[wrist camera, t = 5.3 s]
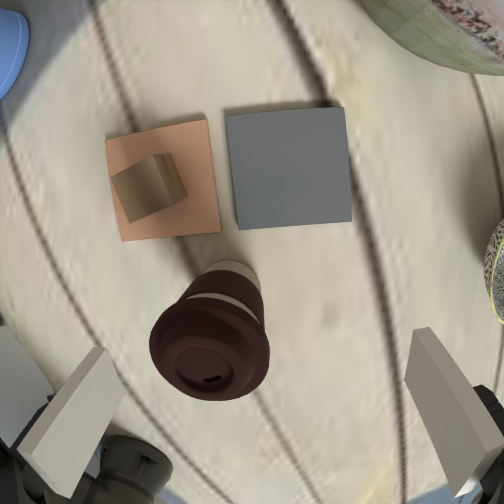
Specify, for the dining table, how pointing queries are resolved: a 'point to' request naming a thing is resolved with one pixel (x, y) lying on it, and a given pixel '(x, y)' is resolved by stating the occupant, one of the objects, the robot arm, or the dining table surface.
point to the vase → (446, 31)
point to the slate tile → (290, 167)
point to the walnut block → (148, 186)
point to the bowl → (495, 270)
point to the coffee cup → (214, 335)
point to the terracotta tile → (191, 173)
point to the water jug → (12, 47)
